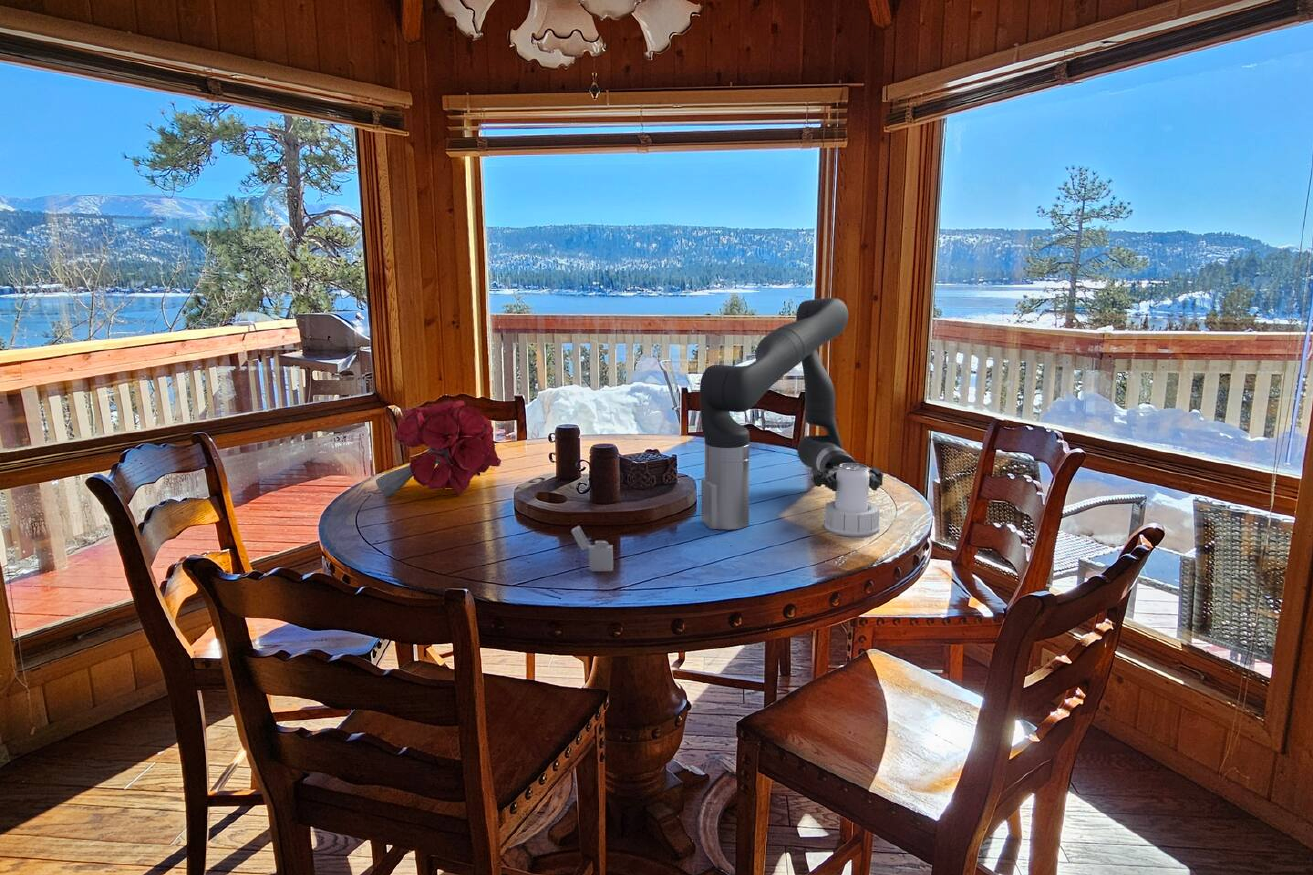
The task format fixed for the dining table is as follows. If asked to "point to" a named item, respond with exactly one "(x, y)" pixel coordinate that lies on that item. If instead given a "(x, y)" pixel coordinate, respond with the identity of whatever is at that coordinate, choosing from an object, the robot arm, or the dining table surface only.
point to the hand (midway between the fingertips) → (855, 486)
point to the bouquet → (443, 447)
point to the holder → (852, 521)
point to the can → (852, 488)
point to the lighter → (595, 552)
